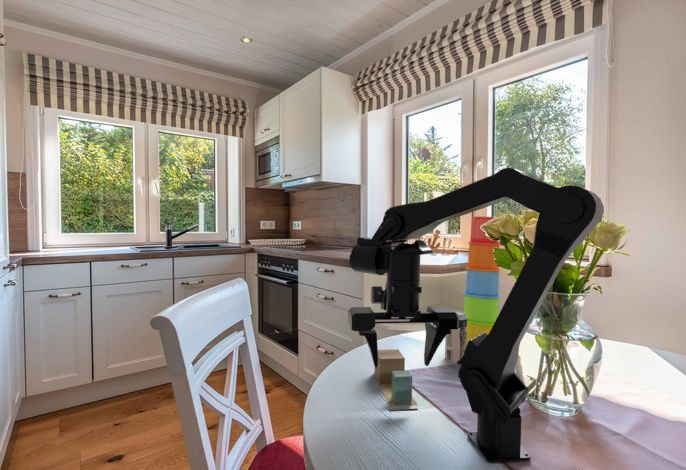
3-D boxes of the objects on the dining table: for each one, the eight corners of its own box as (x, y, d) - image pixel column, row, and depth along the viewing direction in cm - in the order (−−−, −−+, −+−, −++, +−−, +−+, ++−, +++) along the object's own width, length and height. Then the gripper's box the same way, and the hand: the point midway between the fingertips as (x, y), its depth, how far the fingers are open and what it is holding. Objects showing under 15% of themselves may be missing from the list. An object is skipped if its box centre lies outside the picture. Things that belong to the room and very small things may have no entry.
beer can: (467, 368, 82) (468, 316, 81) (445, 366, 83) (446, 314, 82) (464, 360, 86) (465, 310, 86) (443, 358, 87) (445, 309, 87)
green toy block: (417, 410, 63) (418, 376, 63) (389, 411, 63) (390, 377, 62) (397, 376, 77) (397, 348, 77) (373, 376, 76) (374, 348, 76)
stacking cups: (452, 341, 100) (456, 216, 99) (488, 340, 101) (491, 217, 100) (469, 355, 90) (473, 216, 89) (508, 354, 91) (512, 216, 90)
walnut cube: (404, 383, 71) (404, 358, 71) (379, 384, 71) (379, 358, 71) (397, 372, 76) (398, 349, 76) (374, 373, 76) (374, 349, 76)
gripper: (437, 271, 72) (435, 348, 73) (345, 271, 70) (343, 350, 71) (461, 281, 61) (458, 371, 62) (352, 281, 59) (351, 374, 60)
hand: (401, 365), depth 64 cm, fingers open, 9 cm apart
